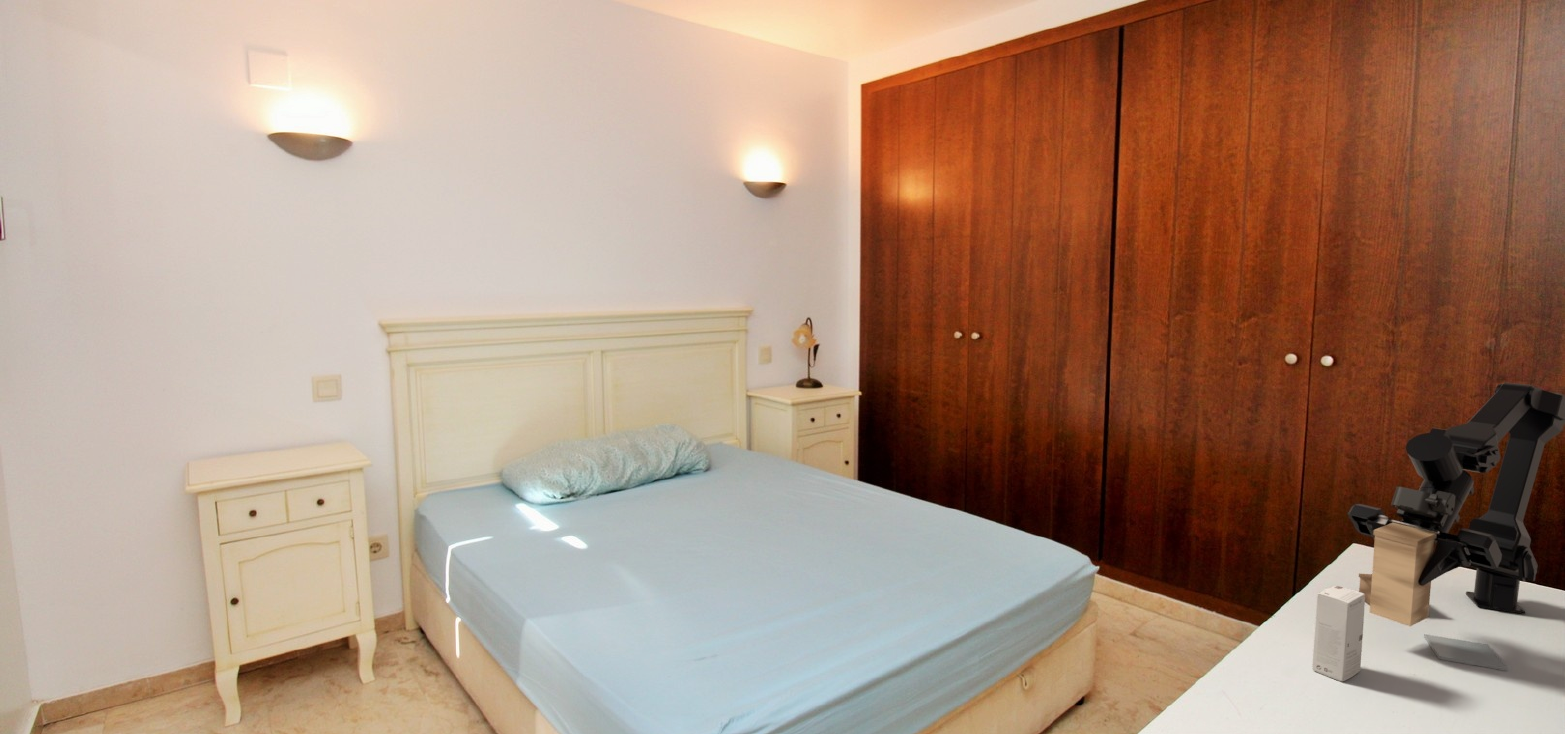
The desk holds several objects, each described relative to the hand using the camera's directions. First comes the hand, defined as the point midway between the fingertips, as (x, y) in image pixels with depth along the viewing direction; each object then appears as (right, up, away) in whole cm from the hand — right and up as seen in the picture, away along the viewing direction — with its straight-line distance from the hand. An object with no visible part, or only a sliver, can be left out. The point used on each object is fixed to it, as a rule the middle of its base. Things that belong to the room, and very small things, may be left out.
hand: (1397, 577), depth 120 cm
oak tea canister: (+1, -6, +1) cm, 7 cm away
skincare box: (-13, -13, -5) cm, 19 cm away
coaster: (+10, -12, 0) cm, 16 cm away
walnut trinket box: (+12, -10, +17) cm, 23 cm away
